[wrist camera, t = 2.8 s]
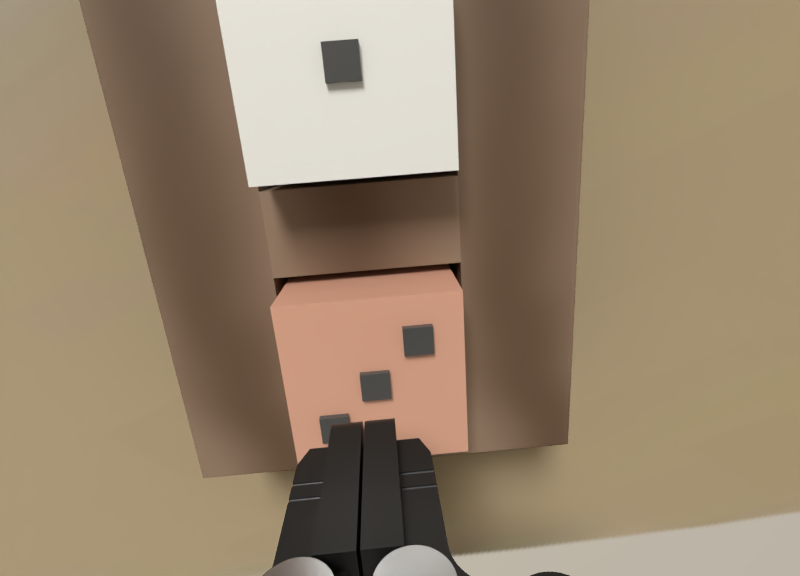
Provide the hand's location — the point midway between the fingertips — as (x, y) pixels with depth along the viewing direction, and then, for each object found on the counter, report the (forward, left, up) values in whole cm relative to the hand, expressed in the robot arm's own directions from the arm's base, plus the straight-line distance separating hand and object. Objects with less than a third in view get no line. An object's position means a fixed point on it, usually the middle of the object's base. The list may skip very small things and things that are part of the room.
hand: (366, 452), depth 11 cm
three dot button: (0, 0, -7) cm, 7 cm away
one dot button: (0, -9, -7) cm, 11 cm away
